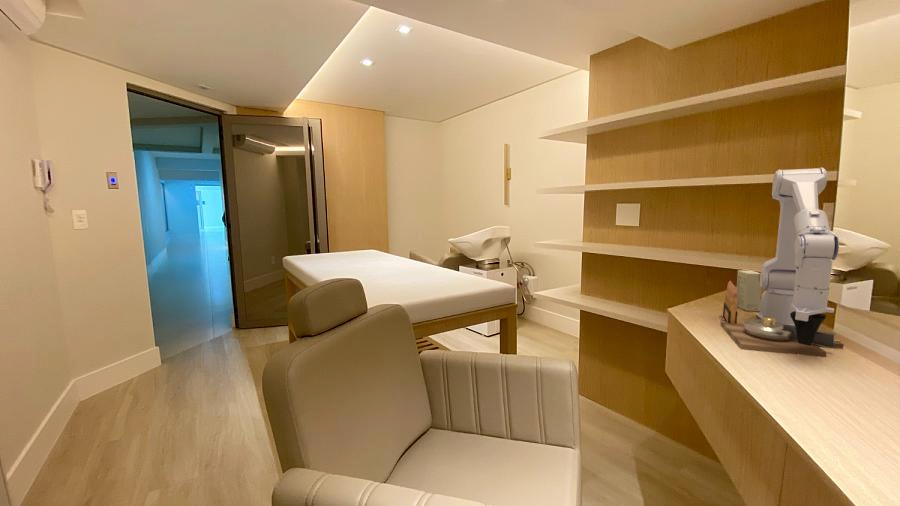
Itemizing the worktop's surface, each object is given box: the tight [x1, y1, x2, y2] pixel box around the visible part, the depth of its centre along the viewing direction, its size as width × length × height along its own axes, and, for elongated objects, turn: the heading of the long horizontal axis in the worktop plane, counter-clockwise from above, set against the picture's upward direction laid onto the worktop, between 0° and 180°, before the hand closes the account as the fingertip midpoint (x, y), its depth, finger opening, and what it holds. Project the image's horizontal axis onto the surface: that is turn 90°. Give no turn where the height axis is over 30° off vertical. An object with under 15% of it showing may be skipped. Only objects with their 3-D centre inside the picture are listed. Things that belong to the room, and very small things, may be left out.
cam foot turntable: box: [743, 317, 836, 347], centre depth 95 cm, size 17×10×4 cm, turn 38°
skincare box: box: [736, 269, 762, 312], centre depth 123 cm, size 6×4×12 cm
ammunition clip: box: [722, 280, 738, 324], centre depth 111 cm, size 11×2×12 cm, turn 152°
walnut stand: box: [720, 320, 845, 358], centre depth 97 cm, size 18×22×1 cm
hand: (805, 343), depth 88 cm, fingers closed
